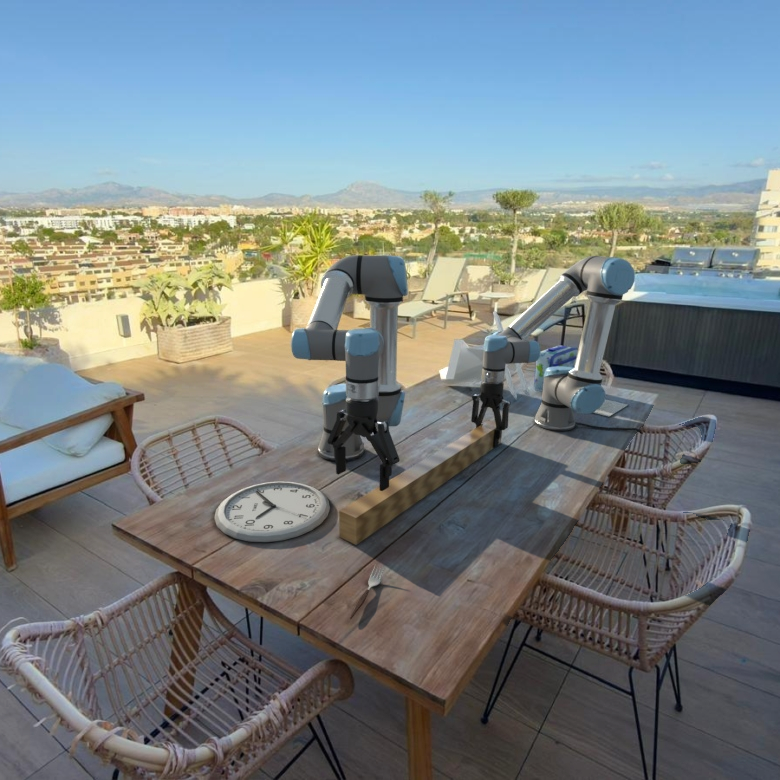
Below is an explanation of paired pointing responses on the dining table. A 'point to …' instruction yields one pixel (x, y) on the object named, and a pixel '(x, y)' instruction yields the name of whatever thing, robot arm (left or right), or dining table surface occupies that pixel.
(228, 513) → the wall clock
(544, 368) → the lunch box
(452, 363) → the white plastic object
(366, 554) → the dining table surface
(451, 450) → the bar
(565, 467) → the dining table surface
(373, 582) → the fork
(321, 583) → the dining table surface
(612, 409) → the invitation card
